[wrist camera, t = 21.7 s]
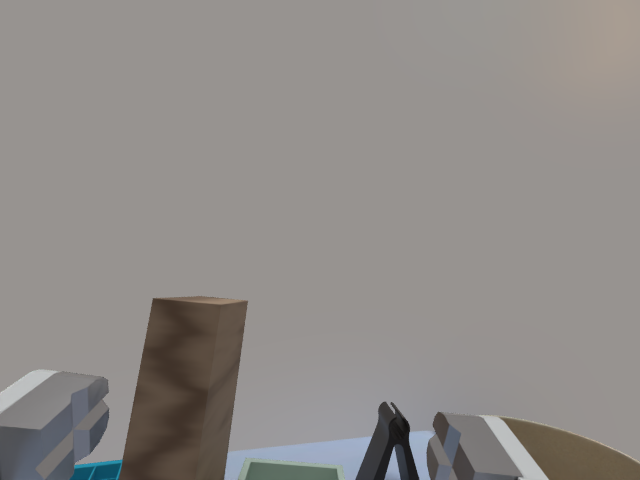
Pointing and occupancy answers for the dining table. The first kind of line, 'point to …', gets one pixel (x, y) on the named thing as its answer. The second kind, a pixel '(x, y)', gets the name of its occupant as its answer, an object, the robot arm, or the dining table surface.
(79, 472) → the ice cube tray
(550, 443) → the plant pot
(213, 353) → the walnut stand
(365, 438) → the dining table surface
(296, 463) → the green tray
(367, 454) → the phone stand
